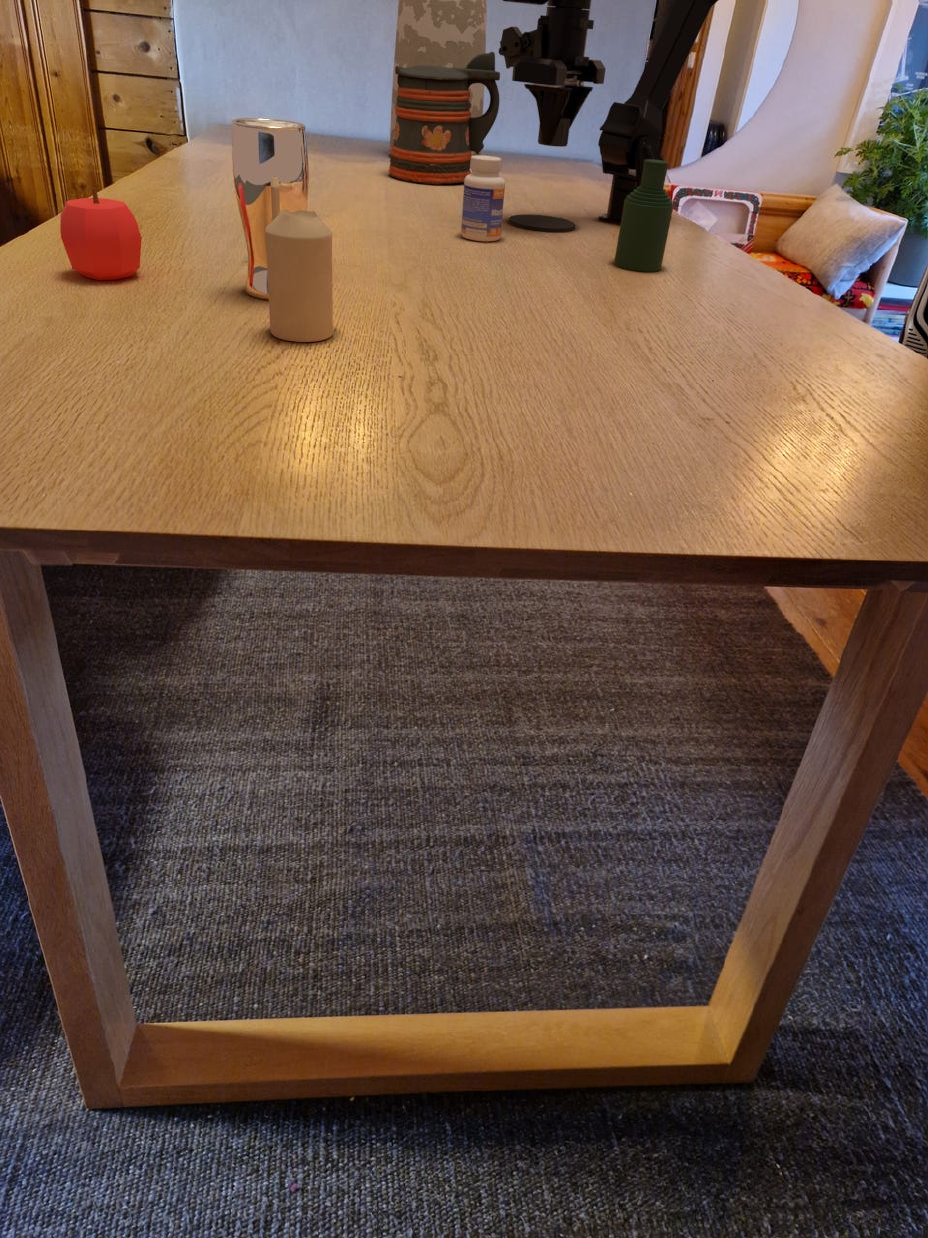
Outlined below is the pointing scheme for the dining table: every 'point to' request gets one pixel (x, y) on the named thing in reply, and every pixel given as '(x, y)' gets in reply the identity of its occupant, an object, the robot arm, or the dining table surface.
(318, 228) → the candle
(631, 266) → the bottle
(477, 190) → the pill bottle
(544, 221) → the coaster
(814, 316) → the dining table surface
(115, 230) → the apple
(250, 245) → the beer glass
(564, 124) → the cap
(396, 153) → the beer stein
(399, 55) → the vase
